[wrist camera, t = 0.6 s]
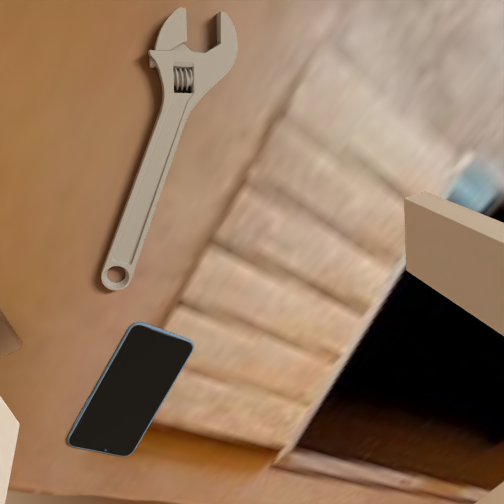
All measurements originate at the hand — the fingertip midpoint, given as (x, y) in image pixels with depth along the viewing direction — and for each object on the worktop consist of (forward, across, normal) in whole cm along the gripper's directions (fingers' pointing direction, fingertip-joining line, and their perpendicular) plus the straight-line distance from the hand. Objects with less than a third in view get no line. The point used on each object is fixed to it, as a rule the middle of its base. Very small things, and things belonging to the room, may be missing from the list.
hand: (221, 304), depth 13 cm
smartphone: (+26, -8, -23) cm, 36 cm away
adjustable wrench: (+28, +1, -1) cm, 28 cm away
